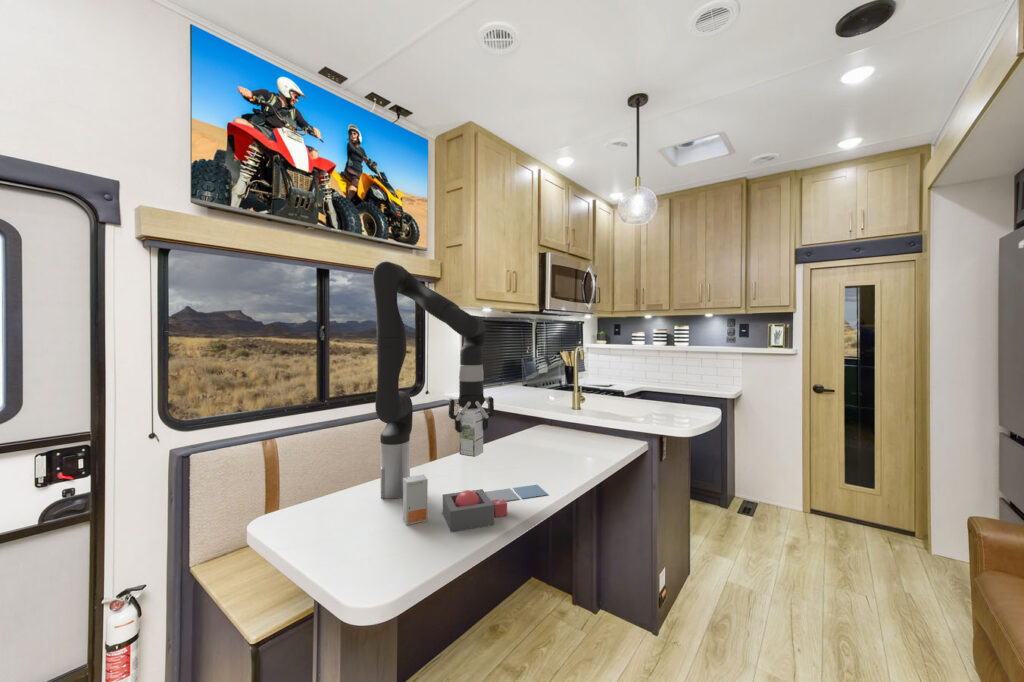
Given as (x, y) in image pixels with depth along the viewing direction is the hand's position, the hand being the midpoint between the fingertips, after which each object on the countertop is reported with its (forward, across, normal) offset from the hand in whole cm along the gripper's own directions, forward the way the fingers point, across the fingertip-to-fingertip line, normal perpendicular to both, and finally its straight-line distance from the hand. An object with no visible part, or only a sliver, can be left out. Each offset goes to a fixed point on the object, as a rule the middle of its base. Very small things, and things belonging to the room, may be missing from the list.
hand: (471, 430), depth 127 cm
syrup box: (+7, 0, 0) cm, 7 cm away
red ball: (+21, -4, -12) cm, 25 cm away
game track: (+22, +10, 0) cm, 24 cm away
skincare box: (+22, -18, -8) cm, 30 cm away
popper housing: (+22, -1, -12) cm, 25 cm away
